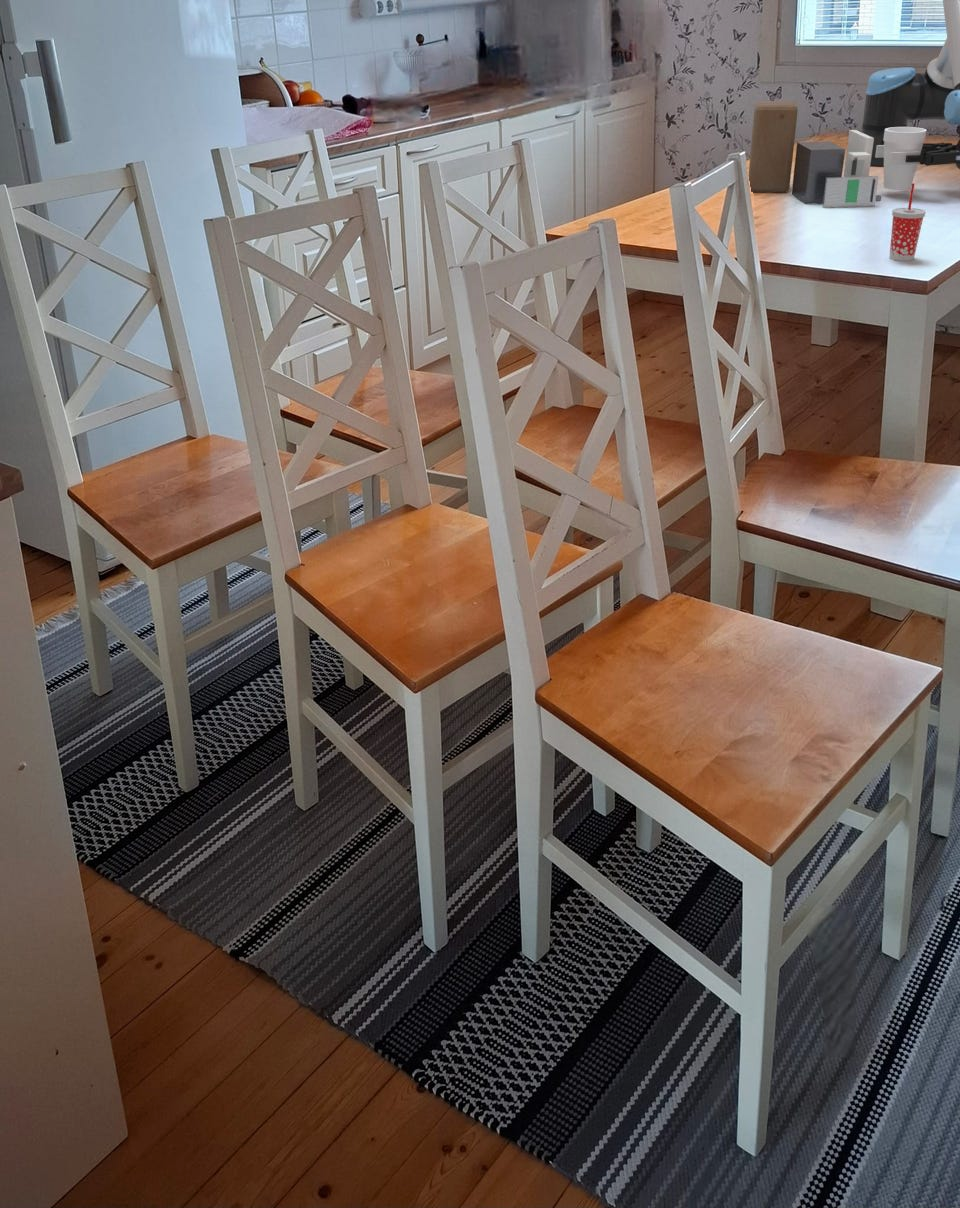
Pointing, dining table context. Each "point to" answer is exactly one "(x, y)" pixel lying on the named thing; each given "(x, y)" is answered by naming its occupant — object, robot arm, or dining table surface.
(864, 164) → the gauge slider
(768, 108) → the wooden block
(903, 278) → the dining table surface
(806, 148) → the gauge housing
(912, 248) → the beverage cup
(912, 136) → the foam cup
